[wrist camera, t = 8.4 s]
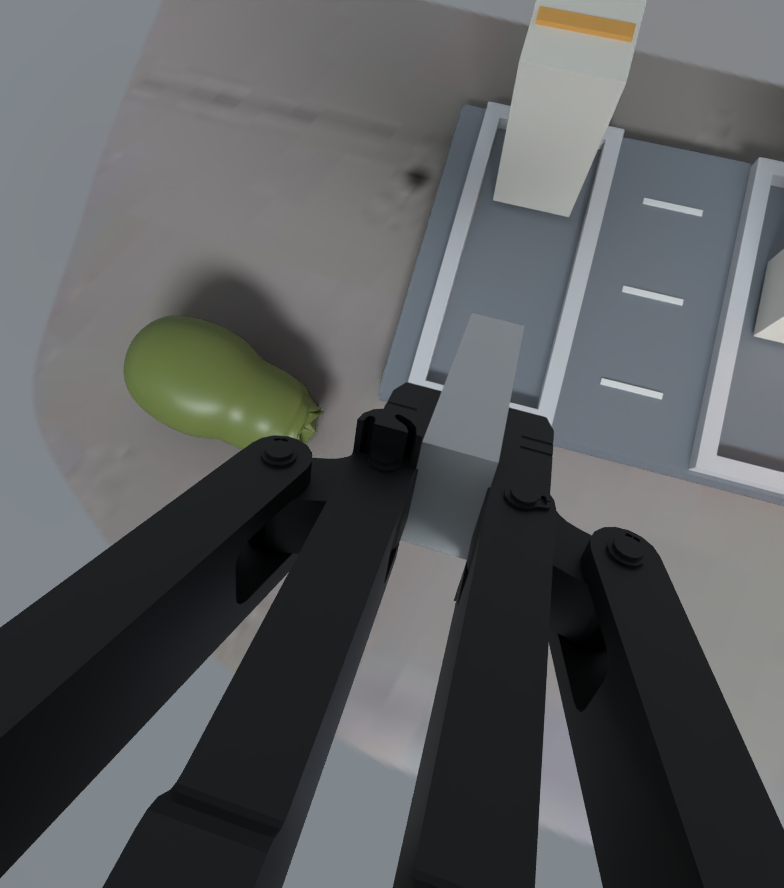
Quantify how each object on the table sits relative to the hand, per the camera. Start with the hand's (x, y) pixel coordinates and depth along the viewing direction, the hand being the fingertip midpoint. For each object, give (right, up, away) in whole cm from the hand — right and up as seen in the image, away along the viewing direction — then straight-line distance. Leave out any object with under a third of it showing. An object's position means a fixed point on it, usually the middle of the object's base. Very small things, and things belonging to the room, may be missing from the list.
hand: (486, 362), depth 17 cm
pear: (-11, 0, +15) cm, 18 cm away
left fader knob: (+5, +12, +14) cm, 19 cm away
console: (+10, +5, +14) cm, 18 cm away
